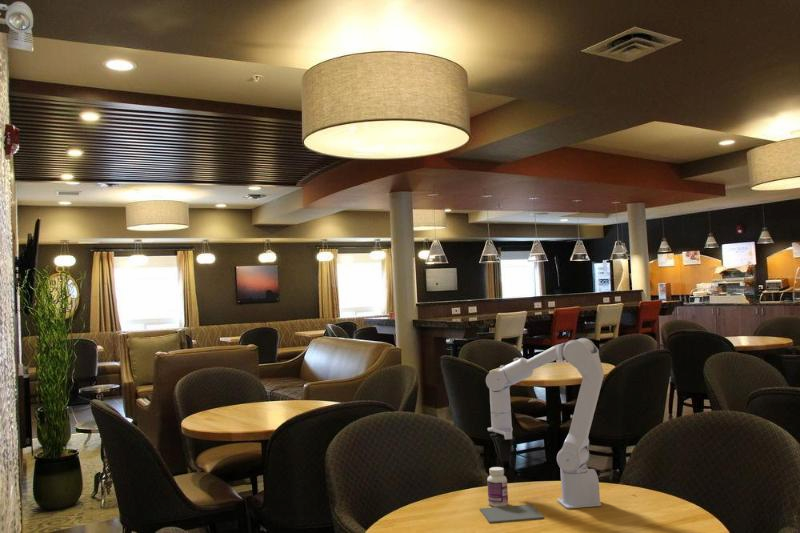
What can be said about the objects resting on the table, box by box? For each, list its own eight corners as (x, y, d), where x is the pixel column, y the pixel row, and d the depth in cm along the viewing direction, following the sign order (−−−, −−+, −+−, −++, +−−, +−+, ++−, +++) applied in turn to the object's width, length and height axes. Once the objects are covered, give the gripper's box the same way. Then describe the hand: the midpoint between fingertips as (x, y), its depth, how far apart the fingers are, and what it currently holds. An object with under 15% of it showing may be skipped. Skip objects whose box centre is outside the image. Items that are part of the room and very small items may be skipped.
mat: (530, 505, 179) (530, 504, 179) (544, 518, 168) (544, 516, 168) (479, 510, 177) (479, 508, 177) (489, 523, 166) (489, 521, 166)
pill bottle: (507, 507, 178) (505, 471, 179) (487, 507, 179) (485, 471, 180) (508, 501, 183) (506, 466, 184) (489, 501, 184) (487, 466, 185)
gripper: (481, 409, 197) (483, 455, 197) (493, 416, 183) (496, 467, 182) (504, 407, 198) (507, 454, 197) (518, 415, 184) (521, 465, 183)
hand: (503, 460), depth 190 cm, fingers open, 3 cm apart
